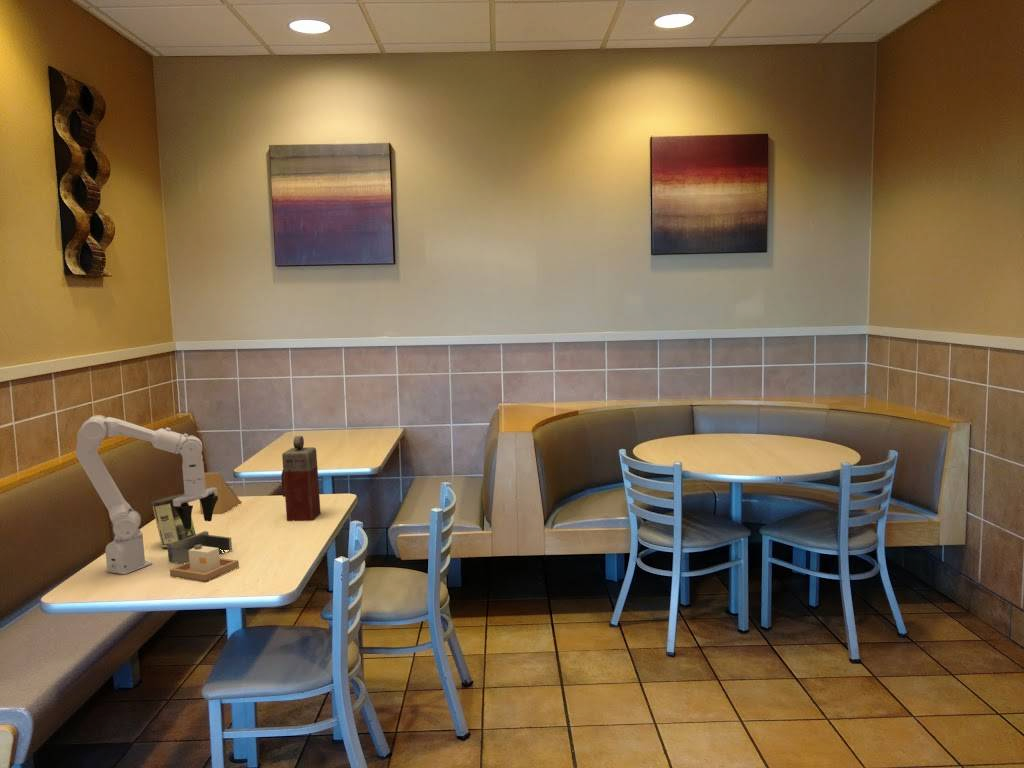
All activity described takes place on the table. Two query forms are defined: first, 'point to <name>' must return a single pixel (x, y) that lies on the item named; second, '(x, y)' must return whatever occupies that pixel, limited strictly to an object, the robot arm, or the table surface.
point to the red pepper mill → (300, 482)
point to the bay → (181, 548)
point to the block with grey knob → (204, 558)
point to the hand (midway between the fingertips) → (198, 524)
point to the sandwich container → (220, 493)
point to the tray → (185, 573)
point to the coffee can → (170, 521)
